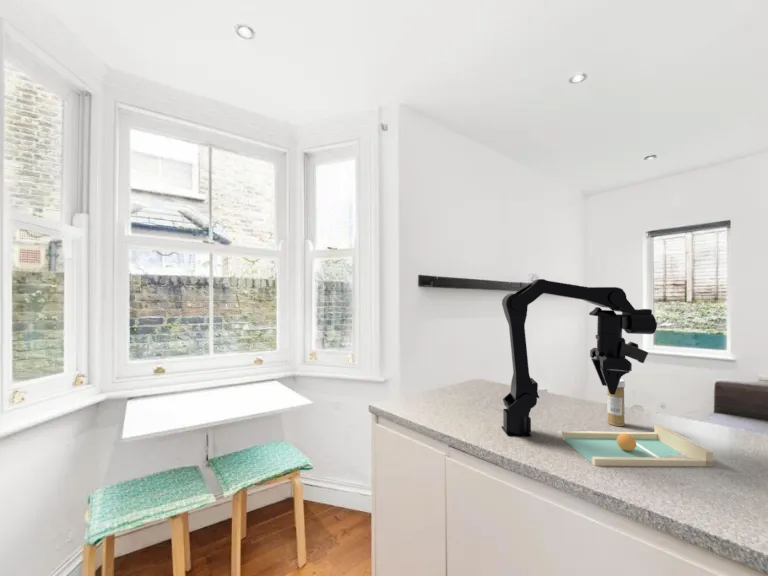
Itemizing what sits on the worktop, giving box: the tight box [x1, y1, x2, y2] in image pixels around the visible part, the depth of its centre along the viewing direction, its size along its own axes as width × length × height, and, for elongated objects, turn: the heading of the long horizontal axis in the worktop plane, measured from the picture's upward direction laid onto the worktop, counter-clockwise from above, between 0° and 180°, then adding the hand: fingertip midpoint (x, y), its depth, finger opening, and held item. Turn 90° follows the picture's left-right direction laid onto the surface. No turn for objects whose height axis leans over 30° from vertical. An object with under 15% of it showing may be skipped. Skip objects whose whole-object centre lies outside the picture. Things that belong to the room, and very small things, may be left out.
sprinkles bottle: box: [606, 378, 626, 427], centre depth 106 cm, size 5×5×14 cm
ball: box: [617, 433, 636, 451], centre depth 87 cm, size 4×4×4 cm
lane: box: [561, 424, 714, 467], centre depth 87 cm, size 26×16×4 cm, turn 88°
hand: (608, 389), depth 96 cm, fingers open, 9 cm apart
